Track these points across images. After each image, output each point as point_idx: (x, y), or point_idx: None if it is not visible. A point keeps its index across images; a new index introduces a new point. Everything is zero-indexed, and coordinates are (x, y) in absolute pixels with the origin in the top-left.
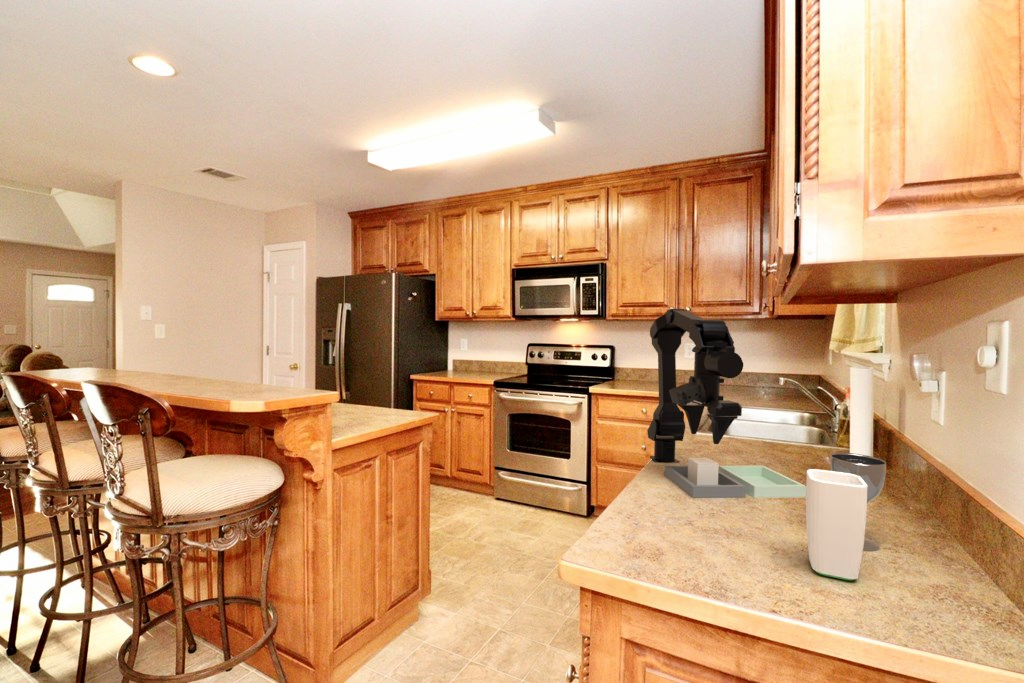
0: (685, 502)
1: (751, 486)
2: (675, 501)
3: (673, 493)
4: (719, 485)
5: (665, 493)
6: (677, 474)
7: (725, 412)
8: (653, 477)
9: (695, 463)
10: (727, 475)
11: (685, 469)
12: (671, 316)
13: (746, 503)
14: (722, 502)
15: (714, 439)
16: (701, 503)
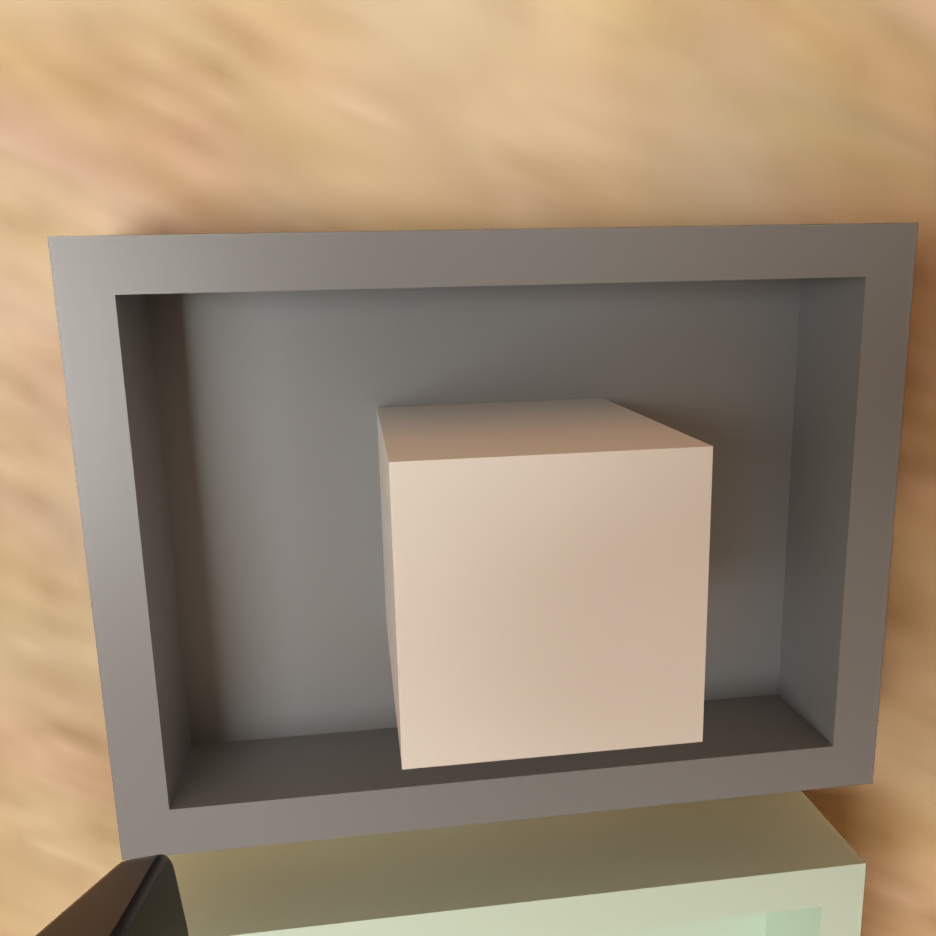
0: (23, 130)
1: (198, 925)
2: (45, 22)
3: (312, 114)
4: (127, 585)
5: (308, 15)
6: (550, 238)
7: None
8: (849, 101)
9: (459, 454)
10: (655, 853)
11: (834, 469)
12: None
13: (58, 745)
14: (64, 531)
15: (45, 930)
16: (10, 299)
